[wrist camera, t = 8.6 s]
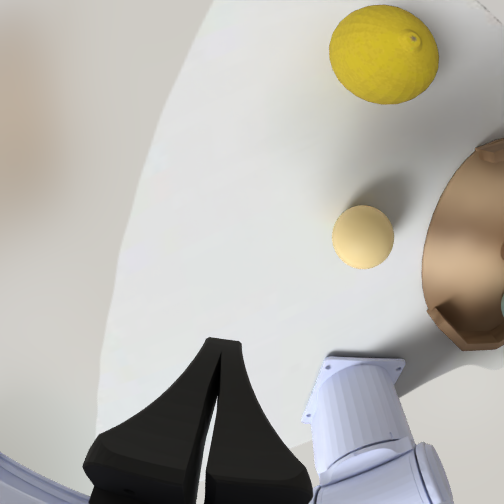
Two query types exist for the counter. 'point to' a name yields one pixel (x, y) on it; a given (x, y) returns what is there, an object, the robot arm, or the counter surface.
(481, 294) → the groove tray
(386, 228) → the pale yellow ball
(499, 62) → the counter surface
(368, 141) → the counter surface
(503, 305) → the bead teal
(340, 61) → the lemon
